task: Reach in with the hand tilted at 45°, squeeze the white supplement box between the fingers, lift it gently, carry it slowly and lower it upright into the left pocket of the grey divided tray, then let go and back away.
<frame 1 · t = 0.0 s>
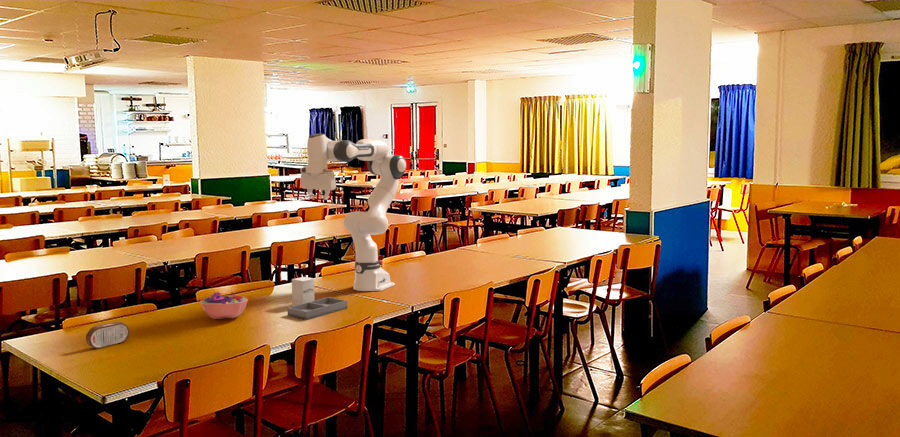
hand: (318, 199, 311), 48 cm above the table, fingers open, 8 cm apart
tin: (109, 346, 251), on the table
supplement box: (303, 306, 308), on the table
grey divided tray: (318, 311, 297), on the table
cell model: (225, 318, 288), on the table
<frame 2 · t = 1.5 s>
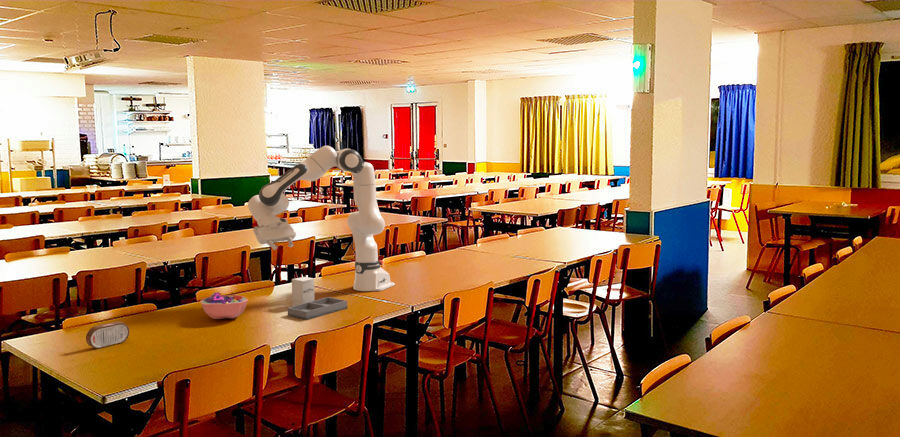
hand: (283, 247, 312), 26 cm above the table, fingers open, 8 cm apart
nothing on the table moved.
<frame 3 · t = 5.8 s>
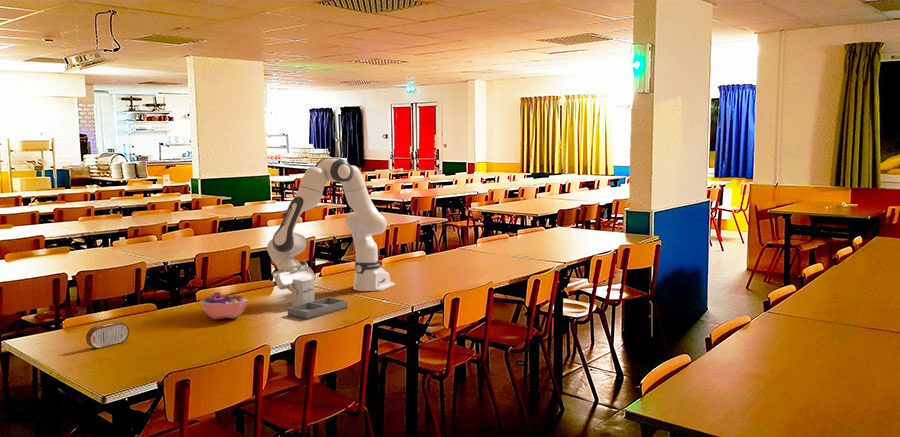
hand: (304, 292, 307), 6 cm above the table, fingers closed on supplement box, 7 cm apart
supplement box: (303, 306, 308), on the table, touching gripper
everything else where it was.
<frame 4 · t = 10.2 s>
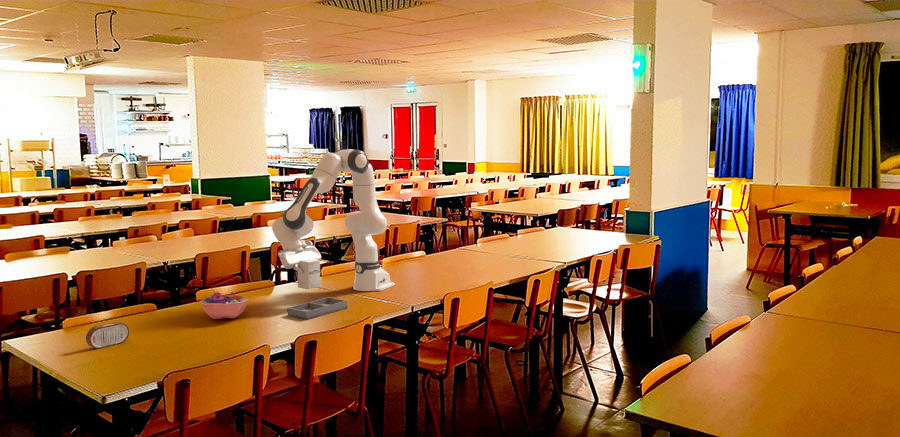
hand: (309, 271, 304), 16 cm above the table, fingers closed on supplement box, 7 cm apart
supplement box: (309, 287, 306), point 9 cm above the table, touching gripper
everything else where it was.
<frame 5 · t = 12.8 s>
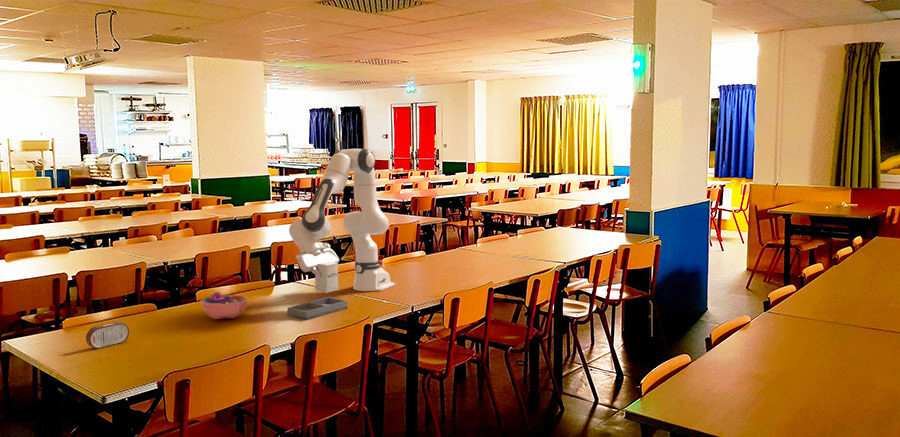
hand: (327, 274, 299), 16 cm above the table, fingers closed on supplement box, 7 cm apart
supplement box: (327, 291, 300), point 8 cm above the table, touching gripper
everything else where it was.
when the fingers open (9 cm above the table, at t = 14.9 s): supplement box stays where it is, resting on grey divided tray.
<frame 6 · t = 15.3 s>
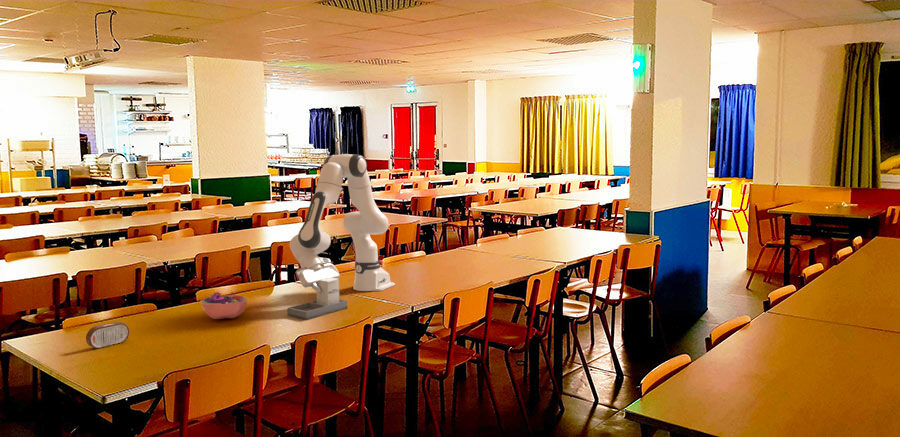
hand: (328, 290, 300), 9 cm above the table, fingers open, 8 cm apart
supplement box: (328, 307, 302), point 1 cm above the table, touching gripper, grey divided tray
everything else where it was.
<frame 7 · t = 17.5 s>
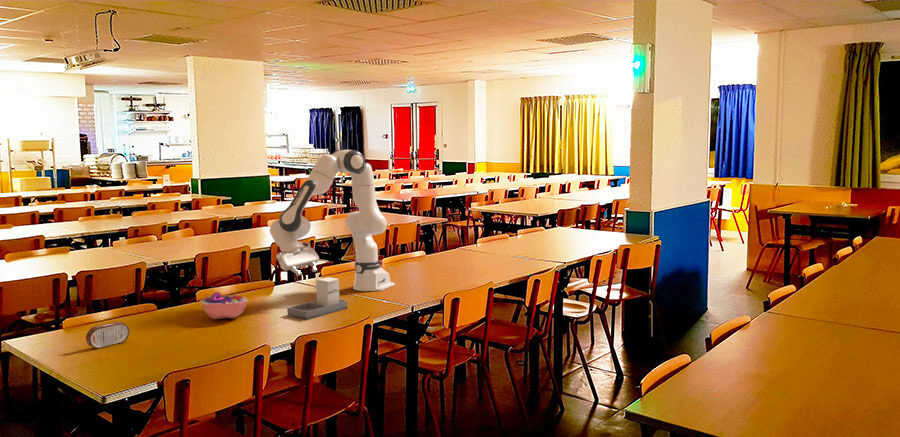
hand: (307, 273, 308), 15 cm above the table, fingers open, 8 cm apart
supplement box: (328, 307, 302), point 1 cm above the table, touching grey divided tray
everything else where it was.
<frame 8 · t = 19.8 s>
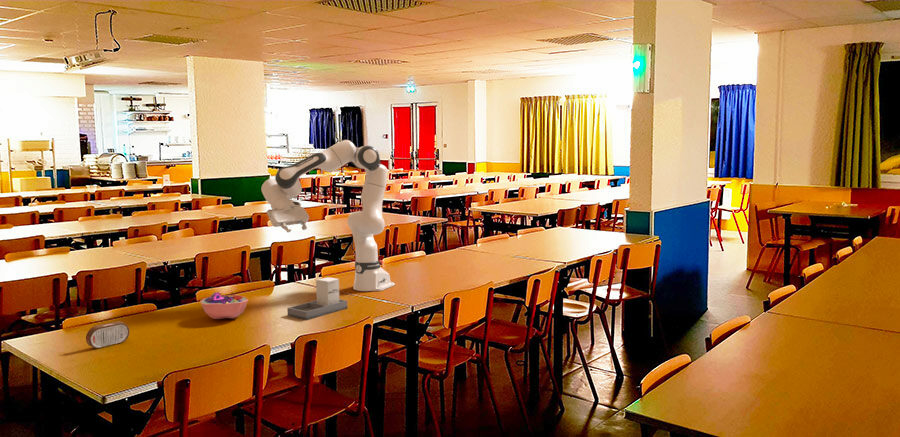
hand: (297, 230, 314), 33 cm above the table, fingers open, 8 cm apart
nothing on the table moved.
at the end: supplement box inside the target area on the grey divided tray (0.5 cm from its centre), point 0.8 cm above the grey divided tray's base; supplement box tilted 0°; the gripper is holding nothing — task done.
